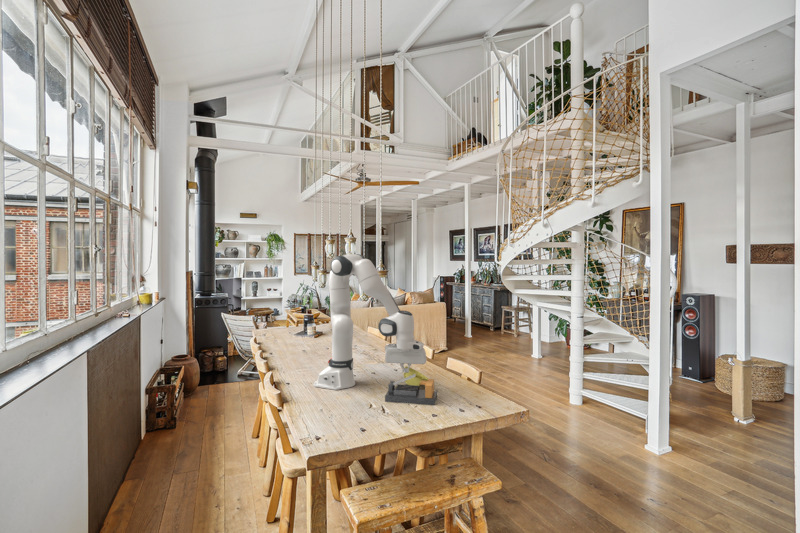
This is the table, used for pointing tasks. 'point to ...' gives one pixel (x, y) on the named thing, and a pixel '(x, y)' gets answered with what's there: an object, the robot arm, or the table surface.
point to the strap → (404, 379)
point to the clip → (428, 387)
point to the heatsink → (408, 395)
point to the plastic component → (416, 379)
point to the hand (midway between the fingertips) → (405, 372)
